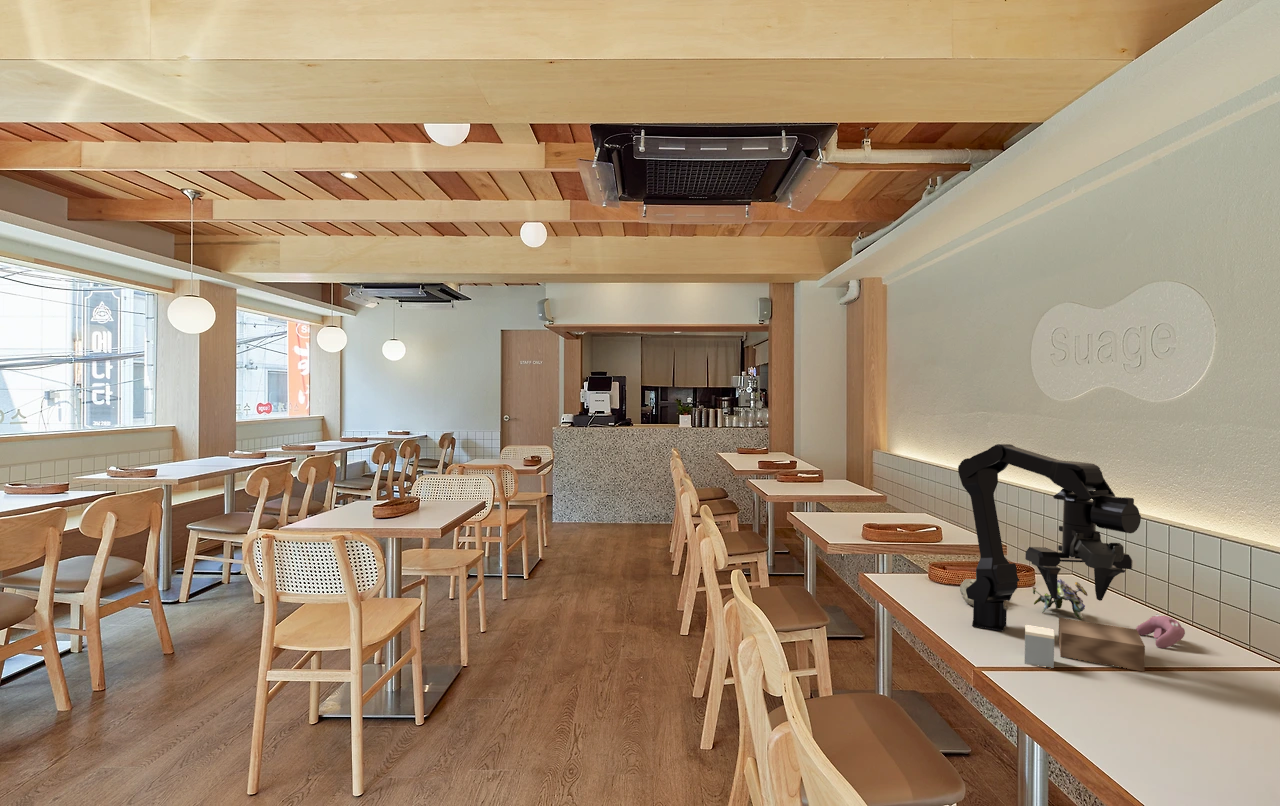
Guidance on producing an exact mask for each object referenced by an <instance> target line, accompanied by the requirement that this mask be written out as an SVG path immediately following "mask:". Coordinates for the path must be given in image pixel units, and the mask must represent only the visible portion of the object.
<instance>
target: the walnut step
mask: <svg viewBox="0 0 1280 806" xmlns="http://www.w3.org/2000/svg"><path fill="white" fill-rule="evenodd" d="M1057 638H1058V640H1059V641H1058V647H1059V654H1060V658H1064V657H1066V658H1065V659H1070V658H1073V659H1072V660H1076V659H1078V660H1077V661H1081V660H1084V661H1083V662H1087V661H1090V662H1089V663H1093V662H1095V663H1094V664H1098V663H1101V664H1100V665H1104V664H1107V665H1106V666H1109V665H1114V666H1113V667H1115V666H1119V667H1118V668H1121V667H1123V668H1122V669H1126V668H1127V670H1132V671H1138V672H1144V673H1145V660H1146V657H1145V654H1146V645H1145V643H1144V641H1143V640H1142V638H1141V635H1139V633H1138V631H1137V629H1136V628H1129V627H1123V626H1116V625H1111V624H1105V623H1098V622H1090V621H1085V620H1078V619H1077V620H1076V619H1070V618H1066V617H1058V637H1057Z"/></svg>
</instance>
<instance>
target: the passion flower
mask: <svg viewBox="0 0 1280 806" xmlns="http://www.w3.org/2000/svg"><path fill="white" fill-rule="evenodd" d="M1074 584H1075V588H1077V589H1076V590H1075V589H1073V588H1072V587H1071V585H1069V584H1068V583H1066V582H1065V580H1062V579H1061V578H1059V579H1057V598H1056V599H1053V598H1052V597H1051V595H1050V594H1048V593H1047V592H1045V593H1044V594H1043V595H1042V594H1041V593H1040V592H1038V591H1037V590H1036V589H1037V587H1035V586H1032V593H1033V595H1036V593H1037V594H1038V595H1039V597H1038V598H1037V599H1036V600H1034V602H1033V605H1036V604H1038V603H1040V602H1042V603H1043V604H1044V607H1043V609H1042V612H1041V614H1042V613H1043V614H1044V613H1045V611H1046V610H1047V609H1049V608H1051V607H1052V605H1053V604H1054V605H1055V610H1059V609H1062V605H1063V603H1064V602H1063V601H1069V602H1070V604H1071V607H1072V612H1073V614H1074V616H1075V617H1076V618H1077V619H1079V620H1083V619H1084V617H1083V614H1082V612H1083V611H1085V607H1086V605H1085V604H1084V600H1083V599H1082V598H1081V597H1080V596H1079V595H1078V594H1077V593H1078V592H1080V593H1082V594H1083V595H1084V596H1086V597H1087V596H1088V592H1087V590H1085V589H1084V587H1083V586H1082V584H1080V583H1079V582H1075V583H1074Z"/></svg>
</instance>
